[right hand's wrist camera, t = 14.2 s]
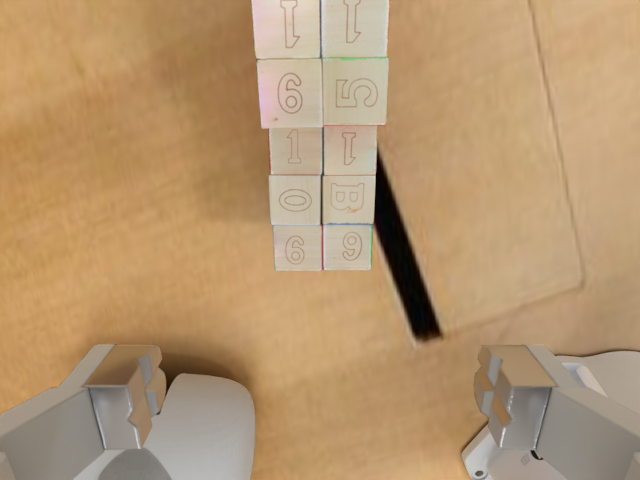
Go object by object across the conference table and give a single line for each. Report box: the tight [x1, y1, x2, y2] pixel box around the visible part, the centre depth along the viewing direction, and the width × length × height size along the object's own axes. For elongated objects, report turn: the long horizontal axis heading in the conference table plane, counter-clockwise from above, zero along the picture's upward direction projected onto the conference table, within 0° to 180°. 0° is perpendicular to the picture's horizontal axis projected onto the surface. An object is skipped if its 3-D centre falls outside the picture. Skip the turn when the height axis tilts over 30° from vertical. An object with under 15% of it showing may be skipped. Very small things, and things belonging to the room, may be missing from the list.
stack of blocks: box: [251, 0, 390, 271], centre depth 25 cm, size 21×6×12 cm, turn 0°
